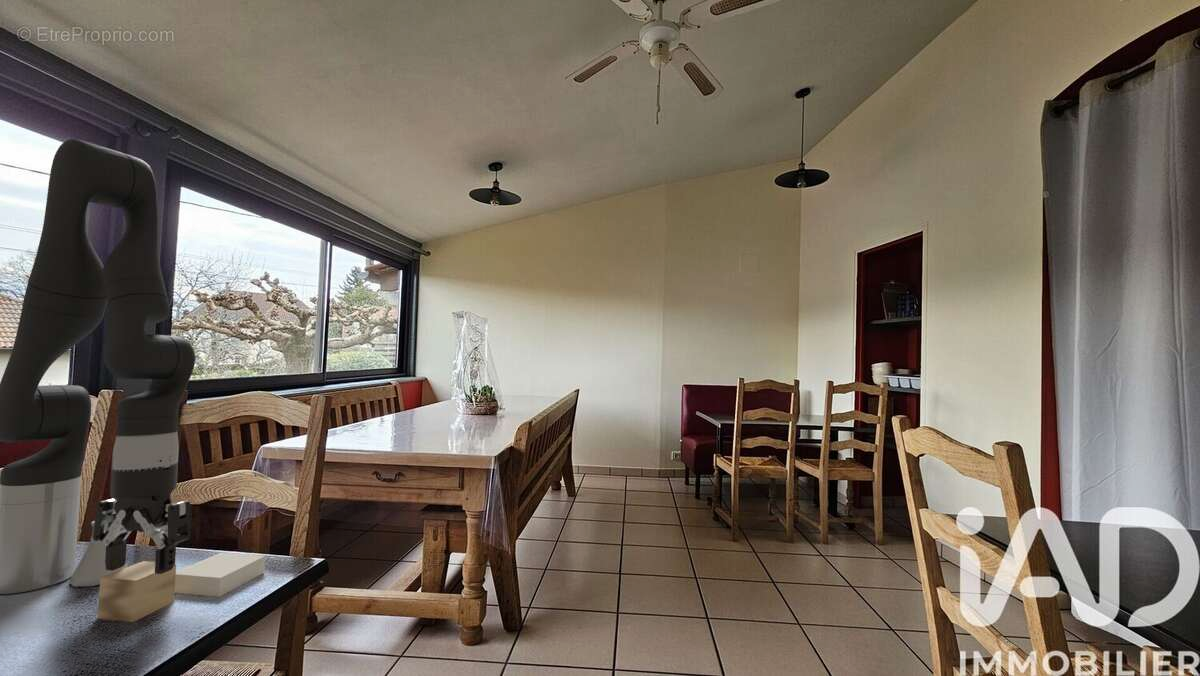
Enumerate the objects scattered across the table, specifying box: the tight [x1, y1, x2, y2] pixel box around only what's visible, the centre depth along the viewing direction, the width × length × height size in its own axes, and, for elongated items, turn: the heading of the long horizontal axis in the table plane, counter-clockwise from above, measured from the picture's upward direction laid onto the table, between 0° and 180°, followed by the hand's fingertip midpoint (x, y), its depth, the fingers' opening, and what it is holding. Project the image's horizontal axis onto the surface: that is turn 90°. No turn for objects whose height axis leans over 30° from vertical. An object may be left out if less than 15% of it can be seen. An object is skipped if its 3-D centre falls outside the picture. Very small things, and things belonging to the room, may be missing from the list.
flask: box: [68, 520, 129, 588], centre depth 84 cm, size 7×7×10 cm
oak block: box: [97, 560, 177, 623], centre depth 74 cm, size 6×6×6 cm
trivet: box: [174, 552, 266, 598], centre depth 83 cm, size 9×9×3 cm
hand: (139, 570), depth 74 cm, fingers open, 8 cm apart
